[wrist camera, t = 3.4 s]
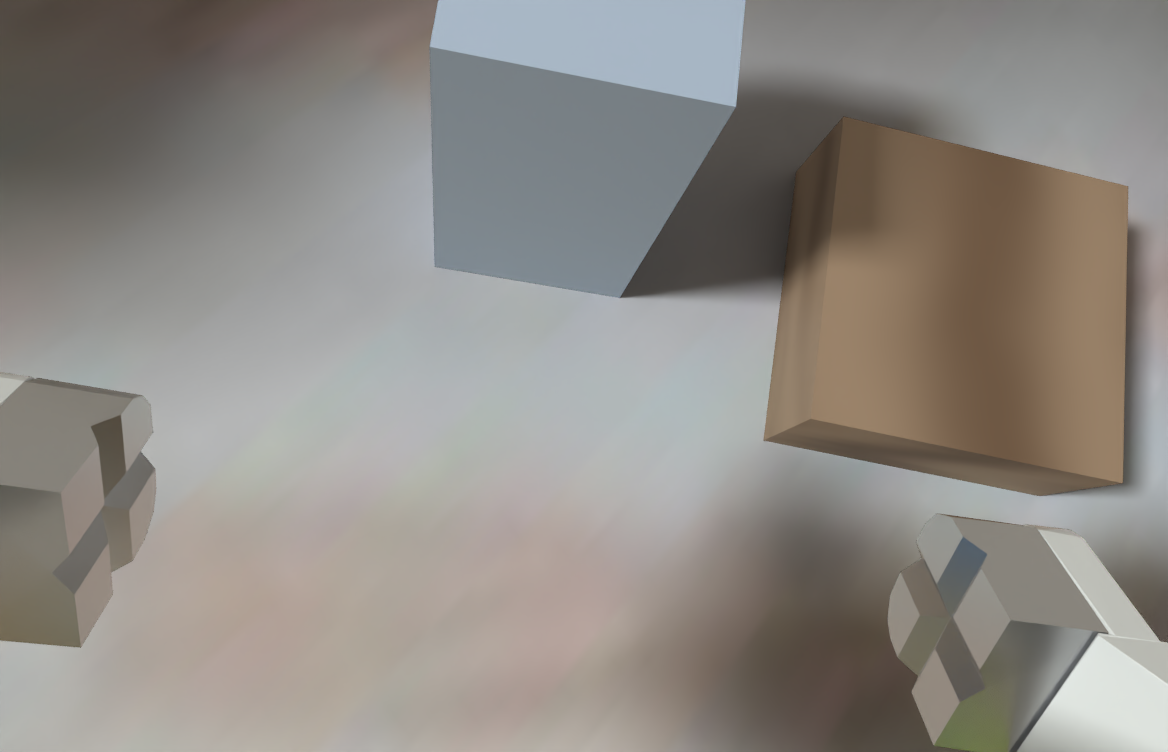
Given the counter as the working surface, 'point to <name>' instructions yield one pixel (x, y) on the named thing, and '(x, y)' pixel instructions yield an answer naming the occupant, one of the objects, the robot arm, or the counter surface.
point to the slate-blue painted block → (572, 130)
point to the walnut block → (953, 314)
